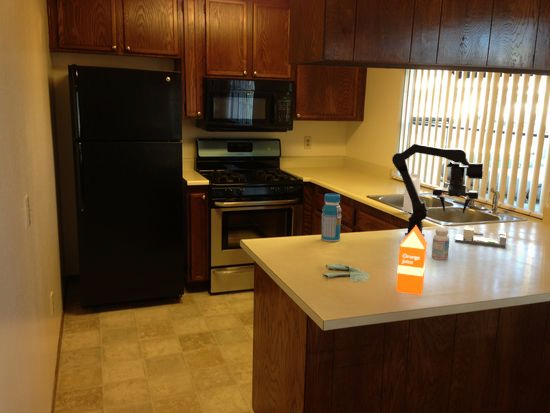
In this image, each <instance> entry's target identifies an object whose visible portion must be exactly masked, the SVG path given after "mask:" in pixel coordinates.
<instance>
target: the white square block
mask: <svg viewBox="0 0 550 413" xmlns="http://www.w3.org/2000/svg"><path fill="white" fill-rule="evenodd" d="M462 235H463V238H464V239H465V238H470V239H473V238H474V237H473V236H479V237H484V233H481V232H475V227H470V226H468V227H467V226H464V228H463V234H462Z"/></svg>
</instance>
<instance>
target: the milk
mask: <svg viewBox="0 0 550 413" xmlns="http://www.w3.org/2000/svg"><path fill="white" fill-rule="evenodd" d="M410 175H411V177H412V180H413V182H414V185H415V187H416V190H417V193H418V195H419V196H420V191H421V181H422V180H421V178H420V177H419V176H418V174H416V173H411V172H410ZM403 193H404V194H403V205H402V206H403V207H402V212H403V211H407V212H411V213H413V209H412V202H411V199H410V197H409V194H408V192H407V189H406V187H405V186H404V192H403Z"/></svg>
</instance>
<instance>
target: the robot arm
mask: <svg viewBox="0 0 550 413" xmlns="http://www.w3.org/2000/svg"><path fill="white" fill-rule="evenodd" d="M415 154H423V155H428V156H432V157H433V156H434V157H440V158H443V159H447V160H449V163H447V164H446V167H447V168H450V172H449V173H450V174H449V183H448V184H449V185H448V189H447V190H444V188H441V187H435V188H434V189H433V190H432V196H434V197H436V198H437V199H438V198H439V200H440V203H441V206H442V210H443V213H444V212H446V195H447V196H448V197H456V198H460V197H465V200H464V204H463V209H462V214H465V211H466V209H467V206H468V205H469V203H470V202H471V201H474V200H478V199H479V191H478V190H468V191H467V186H466V185H464V180H465V179H464V178H465V177H468V179H473V180H475V179H476V180H482V179H483V174H484V168H483V167H484V163H482V162H481V163H480V162H479V163H476V162H475V163H474V162H473V163H472V162H470V161H469V160H468V158H467V154H466V151H465V150H464V149H463V148H443V147H436V146H430V145H425V144H419V143H413V144H412V145H411V146H409V147H408V148H407V149H406V150H403V151H400V152H399V151H398V152H397V153H396V152H395V153H394V154H393V155H392V158H391V161H392V163H393V165H394V167H395V169H396V170H397V171H398V173H399V174H400V176H401V179H402V180H403V184H404V188H405V187H406V189H407V192H408V194H409V197H410V199H411V202H412V209H413V213H412V214H409V217H408V218H407V219H408V222H407V232H404V235H406V236H407V235H408V234H409V233H410V232H411V231H412V229H413V228H414V227H415V226H417V227H418V229H419V231H420V232H421V234H422V236H423V237H424V236H425V234H424V233H423V221H424V220H425V219H426V218H427V216H428V212H429V207H428V206H427V203H426V200H424V201H422V199H421V198H420V194H419V195H418V193H417V190H416V187H415V185H414V182H413V180H412V177H411V175H410V173H411V172H410V168H409V162H408V159H409V158H410V157H412V156H413V155H415ZM454 162H455V163H454ZM460 163H461V165H460ZM465 170H466V171H465Z"/></svg>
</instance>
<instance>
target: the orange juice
mask: <svg viewBox="0 0 550 413" xmlns="http://www.w3.org/2000/svg"><path fill="white" fill-rule="evenodd" d="M422 234H423V233H422ZM422 234H421V232H420V231H419V229H418V227H417V226H415V227H414V228H413V229H412V231H411V232H410V233H409V234H408V235H406V236H405V237H404V238H403V239H402V240H401V242H400V245H399V246H398V247H399V249H398V250H399V251H398V262H397V263H398V264H397V277H396V292H399V293H404V294H405V293H406V294H407V293H408V294H413V295H420V296H421V295H422V293H423V292H422V291H423V288H424V279H425V271H426V270H425V268H426V259H427V258H426V255H427V245H428V243H427V241H426V238H425V237H424V235H423V236H422Z"/></svg>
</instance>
